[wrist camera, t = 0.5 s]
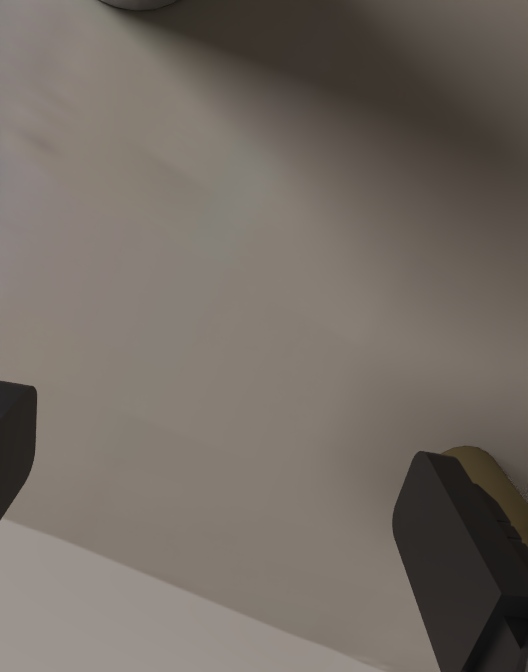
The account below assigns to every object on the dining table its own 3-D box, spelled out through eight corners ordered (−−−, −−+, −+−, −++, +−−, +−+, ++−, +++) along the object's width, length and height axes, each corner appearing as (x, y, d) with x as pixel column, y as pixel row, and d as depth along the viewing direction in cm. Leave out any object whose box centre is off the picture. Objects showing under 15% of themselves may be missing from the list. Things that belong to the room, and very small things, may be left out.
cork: (407, 506, 37) (486, 633, 26) (441, 436, 35) (539, 539, 25) (476, 525, 38) (579, 653, 27) (512, 457, 36) (635, 565, 26)
